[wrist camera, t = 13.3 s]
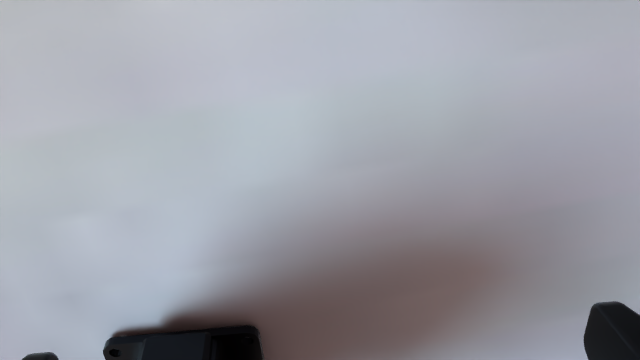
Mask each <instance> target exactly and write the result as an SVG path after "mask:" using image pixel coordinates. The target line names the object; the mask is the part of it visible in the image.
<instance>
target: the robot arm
mask: <svg viewBox="0 0 640 360" xmlns="http://www.w3.org/2000/svg"><path fill="white" fill-rule="evenodd" d="M245 337H250V338H245ZM584 347H585V351H586V354H587V357H588V359H589V360H640V315H639V314H637V313H636V312H634V311H633V310H631V309H630V308H629V307H627V306H626V305H624V304H622V303H620V302H616V301H613V302H602V303H596V304H594V305H593V306H592V308H591V311H590V314H589V318H588V322H587V326H586V330H585V334H584ZM117 349H118V350H117ZM103 354H104V357H105V359H106V360H264V355H263V350H262V344H261V338H260V333H259V331H258V329H257V328H255V327H253V326H236V327H225V328H214V329H203V330H192V331H180V332H169V333H158V334H147V335H136V336H124V337H114V338H110V339H109V340H107V342H106V343H105V347H104V350H103ZM22 360H58V358H57V356H56V355H55V354H54V353H52V352H45V353H34V354H29V355H27V356H26V357H24V358H23V359H22Z"/></svg>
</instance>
